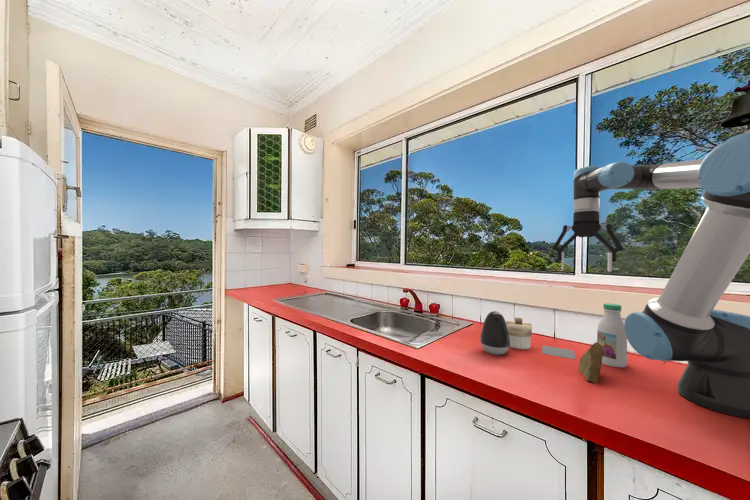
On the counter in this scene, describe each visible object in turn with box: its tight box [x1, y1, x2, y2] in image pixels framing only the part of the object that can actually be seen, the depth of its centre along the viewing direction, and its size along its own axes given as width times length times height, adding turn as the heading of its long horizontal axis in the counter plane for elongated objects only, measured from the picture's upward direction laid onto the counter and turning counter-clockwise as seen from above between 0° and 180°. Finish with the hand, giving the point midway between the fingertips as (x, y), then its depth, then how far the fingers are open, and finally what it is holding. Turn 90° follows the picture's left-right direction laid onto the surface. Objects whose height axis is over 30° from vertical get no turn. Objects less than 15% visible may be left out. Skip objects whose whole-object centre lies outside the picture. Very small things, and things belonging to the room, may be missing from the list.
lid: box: [505, 317, 533, 338], centre depth 111 cm, size 9×9×6 cm
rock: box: [578, 341, 603, 384], centre depth 86 cm, size 11×9×10 cm
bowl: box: [509, 335, 531, 350], centre depth 111 cm, size 8×8×5 cm
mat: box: [541, 345, 577, 360], centre depth 104 cm, size 10×10×1 cm
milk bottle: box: [596, 302, 628, 368], centre depth 95 cm, size 8×8×20 cm
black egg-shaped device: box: [479, 310, 510, 356], centre depth 104 cm, size 10×10×15 cm
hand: (585, 270), depth 101 cm, fingers open, 13 cm apart
